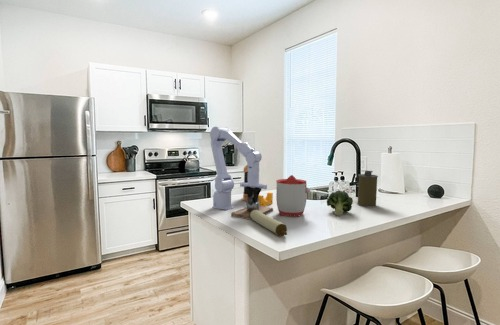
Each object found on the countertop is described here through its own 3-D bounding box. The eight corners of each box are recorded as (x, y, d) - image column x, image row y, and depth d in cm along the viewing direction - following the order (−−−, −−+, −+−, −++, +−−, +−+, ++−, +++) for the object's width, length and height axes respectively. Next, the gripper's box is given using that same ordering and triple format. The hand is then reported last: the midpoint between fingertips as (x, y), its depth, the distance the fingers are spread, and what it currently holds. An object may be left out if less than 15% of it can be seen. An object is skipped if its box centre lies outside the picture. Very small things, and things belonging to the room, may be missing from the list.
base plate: (231, 215, 143) (231, 212, 143) (251, 207, 161) (251, 204, 161) (254, 219, 137) (254, 216, 137) (272, 210, 154) (273, 207, 154)
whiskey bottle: (259, 201, 176) (260, 148, 174) (243, 201, 176) (243, 148, 173) (258, 197, 187) (259, 147, 184) (243, 197, 187) (243, 147, 184)
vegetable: (320, 210, 148) (324, 192, 160) (337, 226, 149) (340, 208, 161) (339, 199, 140) (342, 182, 152) (357, 217, 142) (358, 198, 154)
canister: (377, 204, 172) (378, 170, 170) (375, 208, 163) (377, 172, 161) (357, 202, 177) (359, 169, 175) (355, 205, 168) (356, 171, 166)
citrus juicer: (310, 219, 139) (311, 177, 137) (274, 217, 142) (274, 176, 140) (309, 211, 154) (310, 173, 152) (276, 209, 157) (277, 172, 155)
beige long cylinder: (245, 218, 139) (245, 207, 139) (256, 216, 142) (256, 206, 141) (280, 240, 110) (280, 227, 110) (292, 238, 112) (292, 225, 112)
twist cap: (243, 210, 147) (243, 196, 146) (251, 207, 154) (251, 193, 153) (254, 212, 144) (254, 197, 143) (262, 209, 151) (262, 195, 150)
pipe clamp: (266, 202, 174) (266, 192, 173) (272, 203, 172) (272, 192, 171) (254, 206, 164) (254, 195, 164) (261, 207, 162) (261, 196, 161)
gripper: (236, 175, 147) (236, 201, 149) (262, 177, 140) (262, 205, 141) (244, 173, 153) (243, 199, 155) (269, 175, 146) (268, 202, 147)
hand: (253, 201), depth 148 cm, fingers closed on twist cap, 2 cm apart
